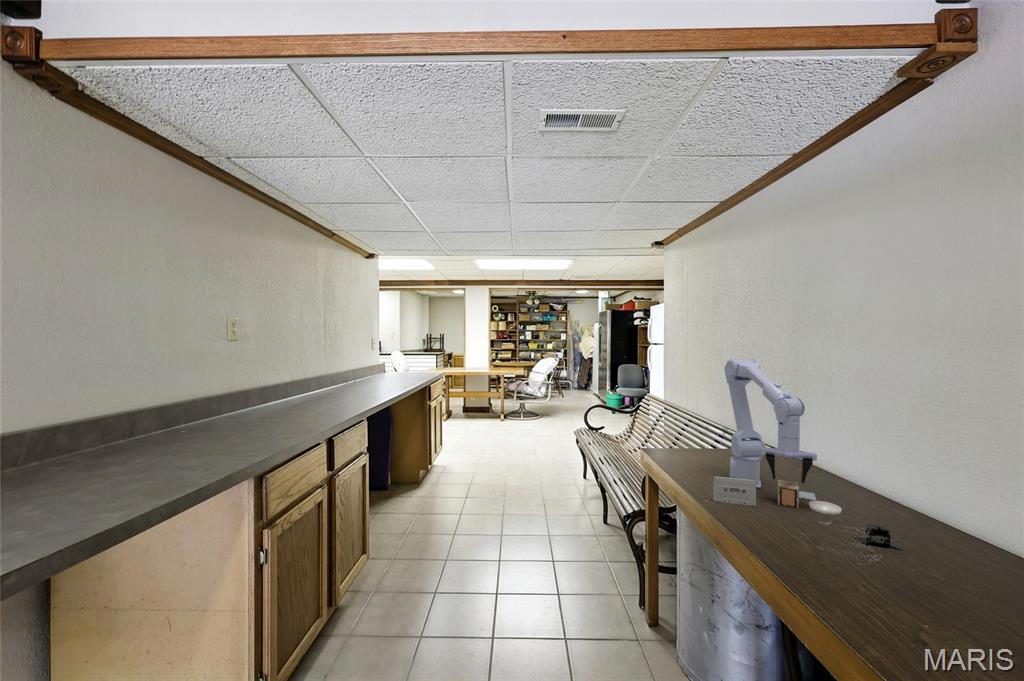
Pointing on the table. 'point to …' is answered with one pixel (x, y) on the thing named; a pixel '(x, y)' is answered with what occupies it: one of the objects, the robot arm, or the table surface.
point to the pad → (807, 495)
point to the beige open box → (790, 486)
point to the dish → (825, 507)
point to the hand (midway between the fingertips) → (788, 480)
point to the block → (788, 496)
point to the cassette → (733, 496)
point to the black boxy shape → (879, 542)
